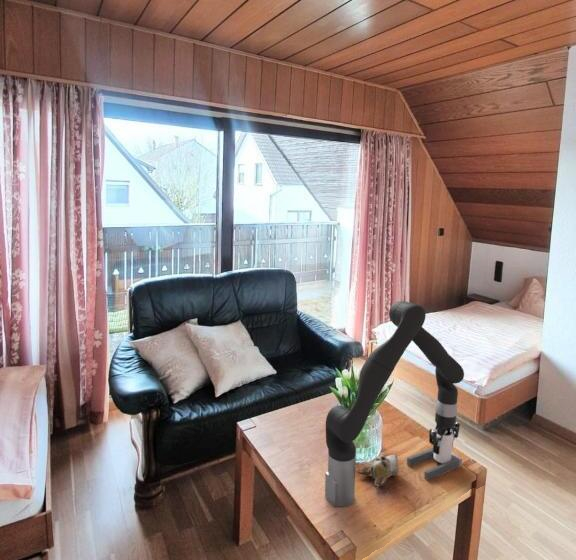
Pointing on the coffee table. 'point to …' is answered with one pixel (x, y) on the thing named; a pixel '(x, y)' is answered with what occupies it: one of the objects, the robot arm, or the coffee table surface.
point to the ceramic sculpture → (381, 469)
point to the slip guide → (438, 470)
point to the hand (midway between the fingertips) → (442, 450)
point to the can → (444, 449)
